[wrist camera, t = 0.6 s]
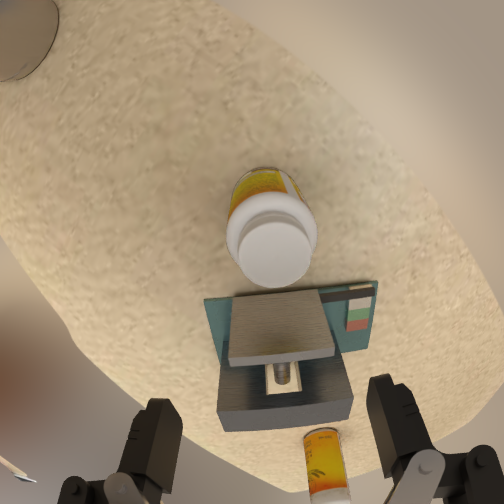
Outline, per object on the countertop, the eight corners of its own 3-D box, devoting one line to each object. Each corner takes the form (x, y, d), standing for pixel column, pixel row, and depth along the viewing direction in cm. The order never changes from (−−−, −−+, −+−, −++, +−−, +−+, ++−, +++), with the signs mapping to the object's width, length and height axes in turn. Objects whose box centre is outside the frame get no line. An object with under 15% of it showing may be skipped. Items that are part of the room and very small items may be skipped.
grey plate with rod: (232, 297, 28) (228, 358, 21) (371, 282, 28) (401, 335, 21) (243, 354, 32) (242, 412, 25) (363, 340, 31) (383, 393, 25)
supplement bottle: (219, 207, 25) (202, 270, 16) (256, 153, 23) (260, 185, 14) (274, 240, 27) (286, 314, 18) (312, 190, 25) (347, 243, 15)
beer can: (299, 432, 42) (308, 512, 29) (336, 423, 42) (351, 503, 28) (306, 445, 45) (315, 517, 32) (339, 437, 44) (353, 509, 31)
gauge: (204, 299, 30) (189, 373, 21) (376, 280, 29) (414, 345, 20) (220, 362, 34) (214, 431, 25) (366, 346, 33) (390, 409, 25)
